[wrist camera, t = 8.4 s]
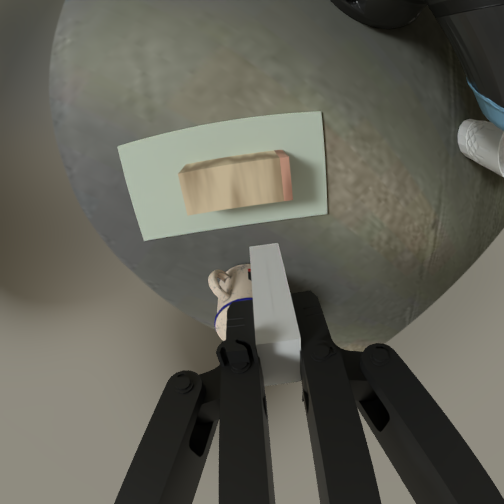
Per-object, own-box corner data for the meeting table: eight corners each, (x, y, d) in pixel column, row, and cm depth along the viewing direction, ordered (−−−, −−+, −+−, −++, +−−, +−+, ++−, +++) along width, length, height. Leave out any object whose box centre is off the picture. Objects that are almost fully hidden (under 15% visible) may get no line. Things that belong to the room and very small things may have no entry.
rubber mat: (320, 111, 30) (321, 111, 30) (326, 212, 37) (327, 214, 37) (118, 146, 31) (117, 146, 31) (144, 239, 38) (144, 240, 38)
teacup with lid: (287, 287, 43) (301, 342, 33) (244, 316, 46) (246, 372, 36) (236, 236, 39) (236, 287, 28) (191, 272, 41) (179, 327, 31)
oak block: (185, 164, 33) (281, 149, 32) (193, 200, 35) (285, 187, 35) (177, 173, 28) (288, 156, 28) (187, 215, 31) (293, 200, 30)
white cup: (475, 167, 34) (515, 187, 25) (449, 150, 32) (492, 168, 24) (486, 128, 30) (527, 141, 21) (460, 107, 29) (505, 117, 20)
